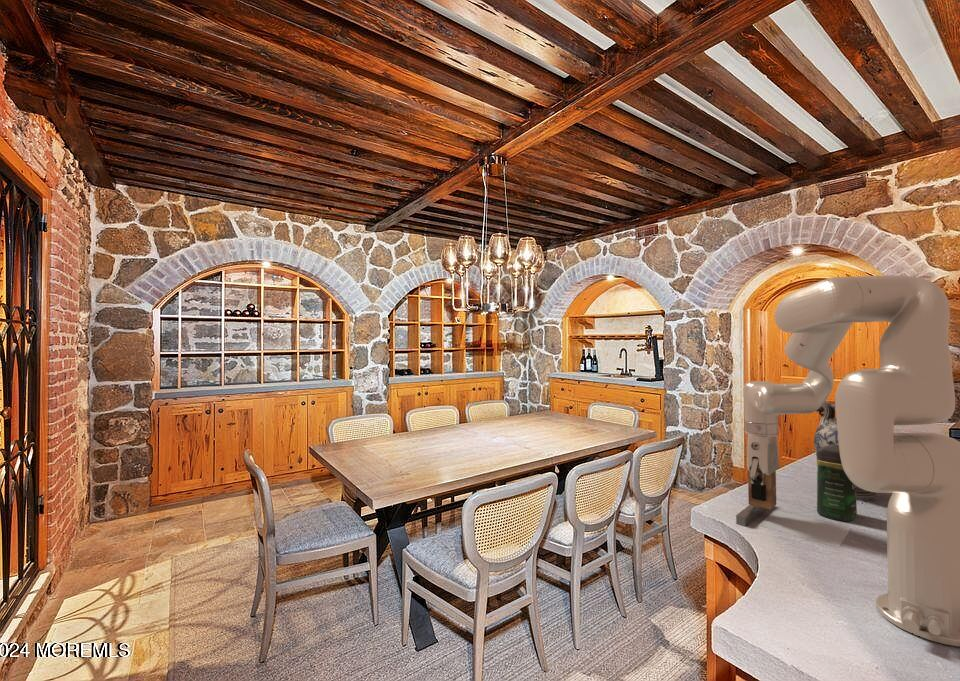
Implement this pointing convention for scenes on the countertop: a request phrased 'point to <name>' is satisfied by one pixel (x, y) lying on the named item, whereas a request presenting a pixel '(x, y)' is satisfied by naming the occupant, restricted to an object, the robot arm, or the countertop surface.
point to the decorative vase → (834, 440)
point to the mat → (806, 528)
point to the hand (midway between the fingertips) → (762, 496)
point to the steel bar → (748, 515)
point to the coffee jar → (834, 486)
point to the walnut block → (770, 491)
